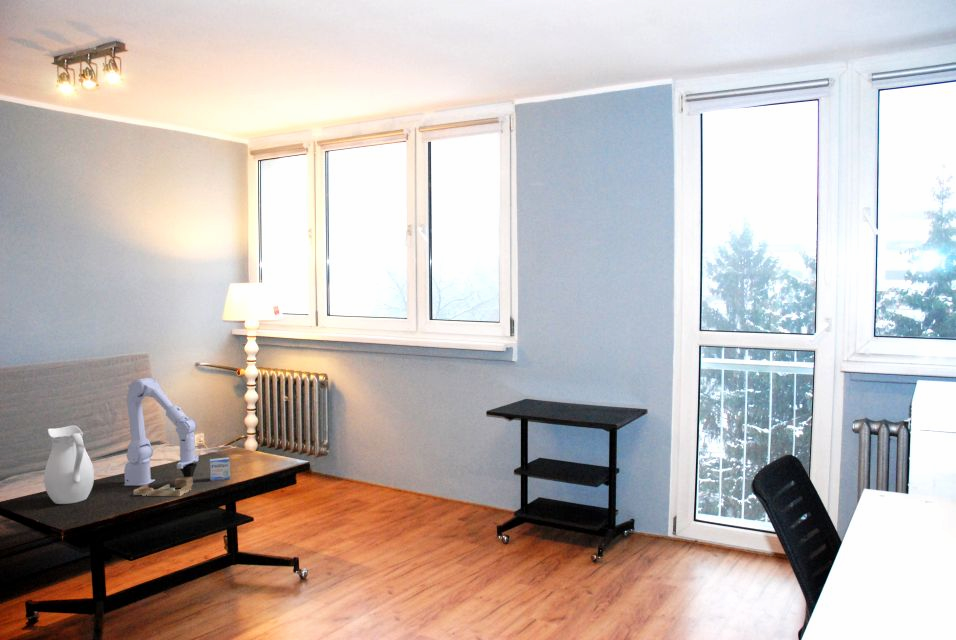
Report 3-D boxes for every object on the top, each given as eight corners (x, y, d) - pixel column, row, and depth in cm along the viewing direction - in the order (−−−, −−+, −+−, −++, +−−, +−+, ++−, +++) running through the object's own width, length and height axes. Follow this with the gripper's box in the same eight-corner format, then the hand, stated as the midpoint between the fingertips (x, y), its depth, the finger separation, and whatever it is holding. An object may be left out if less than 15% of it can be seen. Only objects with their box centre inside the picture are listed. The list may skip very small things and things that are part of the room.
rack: (133, 495, 294) (133, 488, 294) (146, 489, 303) (145, 482, 303) (180, 496, 292) (179, 488, 292) (191, 489, 301) (190, 482, 301)
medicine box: (210, 481, 314) (209, 460, 313) (210, 479, 318) (209, 458, 317) (230, 479, 316) (229, 458, 316) (229, 476, 321) (228, 456, 320)
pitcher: (40, 500, 291) (36, 429, 290) (88, 491, 302) (84, 422, 301) (56, 513, 273) (51, 437, 272) (106, 503, 284) (102, 430, 283)
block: (175, 488, 304) (174, 479, 303) (181, 485, 309) (181, 476, 308) (186, 488, 303) (186, 480, 303) (192, 485, 308) (192, 476, 308)
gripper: (188, 453, 301) (189, 486, 302) (204, 445, 316) (206, 477, 316) (171, 453, 302) (172, 486, 303) (188, 445, 316) (190, 477, 317)
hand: (188, 481), depth 310 cm, fingers closed
